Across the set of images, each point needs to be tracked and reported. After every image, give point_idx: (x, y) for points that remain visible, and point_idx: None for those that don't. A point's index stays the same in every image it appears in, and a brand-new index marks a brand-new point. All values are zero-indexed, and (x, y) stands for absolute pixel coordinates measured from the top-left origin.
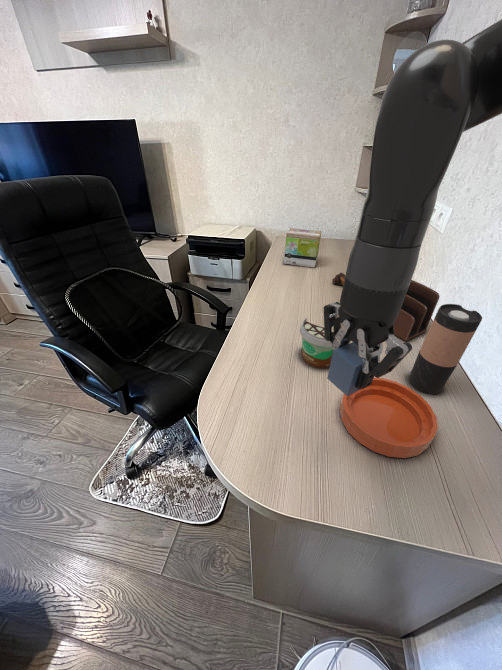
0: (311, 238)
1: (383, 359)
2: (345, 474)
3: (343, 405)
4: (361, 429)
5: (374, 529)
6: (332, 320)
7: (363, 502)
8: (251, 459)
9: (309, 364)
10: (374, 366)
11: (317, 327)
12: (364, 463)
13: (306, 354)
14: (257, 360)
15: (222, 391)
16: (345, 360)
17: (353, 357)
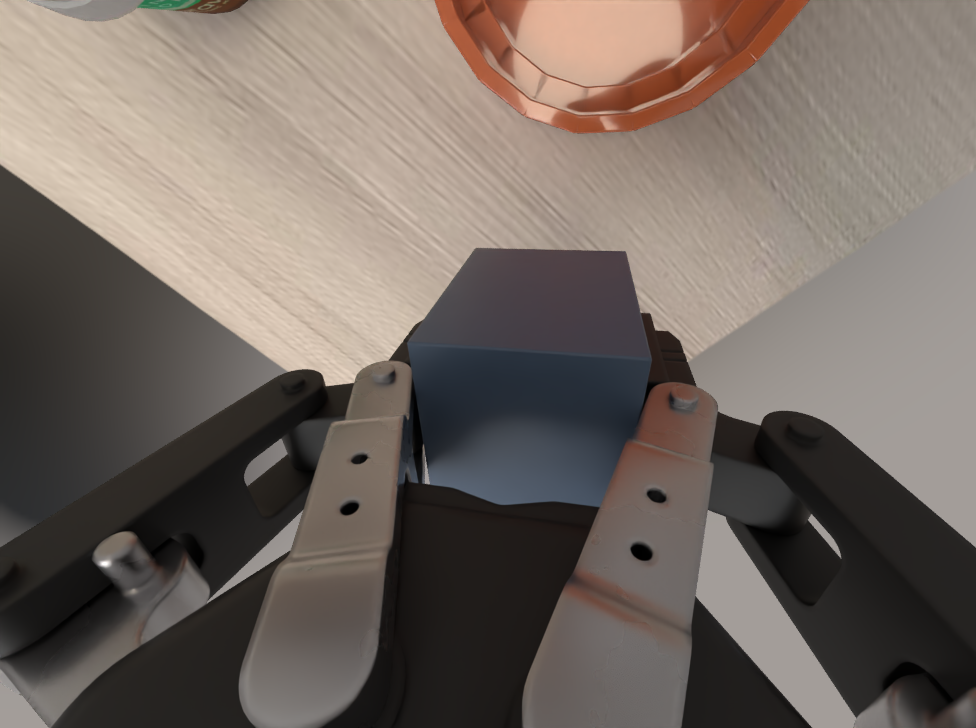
0: None
1: (840, 684)
2: (662, 241)
3: (503, 99)
4: (623, 130)
5: (793, 282)
6: (214, 559)
7: (740, 257)
8: None
9: (237, 6)
10: (719, 508)
11: None
12: (681, 164)
13: (186, 10)
14: (195, 199)
15: (306, 350)
16: None
17: (547, 477)
